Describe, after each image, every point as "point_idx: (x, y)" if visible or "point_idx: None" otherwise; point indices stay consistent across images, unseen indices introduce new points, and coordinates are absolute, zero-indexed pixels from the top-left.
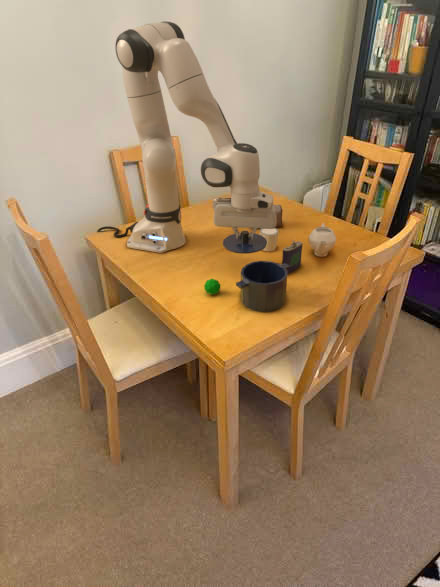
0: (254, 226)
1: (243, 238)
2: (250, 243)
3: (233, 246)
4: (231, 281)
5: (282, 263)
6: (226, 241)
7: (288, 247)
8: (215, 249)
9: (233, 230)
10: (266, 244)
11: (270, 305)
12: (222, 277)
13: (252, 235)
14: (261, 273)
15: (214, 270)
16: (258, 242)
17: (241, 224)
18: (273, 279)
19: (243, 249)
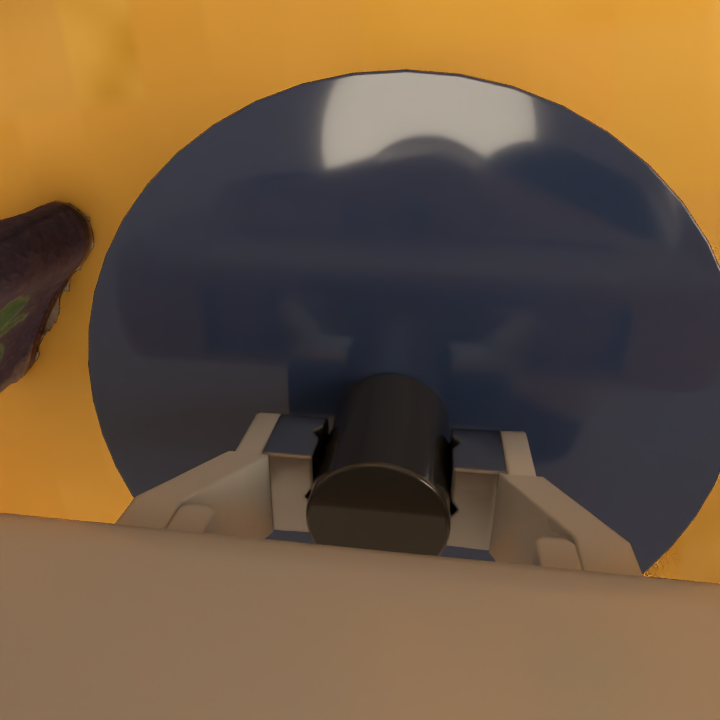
0: (89, 544)
1: (402, 417)
2: (305, 377)
3: (563, 273)
4: (532, 5)
5: (22, 241)
6: (676, 426)
7: None
8: (685, 567)
9: (611, 534)
10: (88, 362)
11: None
12: (632, 80)
13: (240, 450)
14: None
15: (715, 217)
16: (202, 408)
17: (425, 616)
18: None
19: (388, 177)
